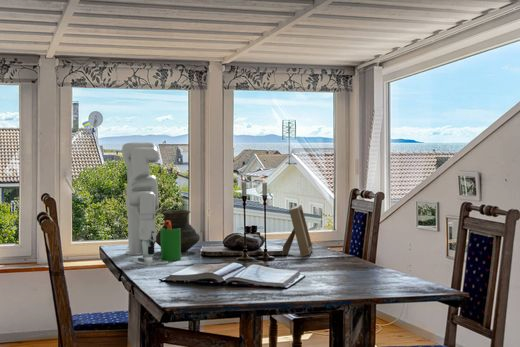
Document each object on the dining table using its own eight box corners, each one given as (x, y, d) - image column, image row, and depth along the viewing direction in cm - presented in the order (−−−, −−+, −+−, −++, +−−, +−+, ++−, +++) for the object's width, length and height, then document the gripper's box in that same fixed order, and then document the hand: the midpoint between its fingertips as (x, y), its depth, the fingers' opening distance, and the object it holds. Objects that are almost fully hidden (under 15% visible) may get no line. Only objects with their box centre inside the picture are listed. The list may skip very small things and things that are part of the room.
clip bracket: (129, 260, 343) (129, 256, 343) (149, 258, 350) (148, 254, 350) (147, 265, 327) (147, 261, 327) (168, 263, 334) (168, 258, 334)
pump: (140, 256, 339) (140, 237, 339) (150, 255, 342) (150, 236, 342) (145, 257, 334) (145, 238, 334) (155, 256, 338) (155, 237, 338)
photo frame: (312, 250, 370) (311, 204, 370) (309, 256, 349) (308, 207, 348) (285, 250, 373) (284, 205, 372) (280, 256, 351) (279, 208, 350)
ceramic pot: (150, 251, 379) (149, 210, 379) (192, 248, 388) (191, 208, 387) (160, 256, 357) (159, 213, 356) (204, 253, 366) (204, 211, 365)
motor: (182, 258, 350) (181, 219, 349) (178, 260, 341) (177, 221, 340) (162, 258, 351) (162, 219, 350) (158, 260, 342) (157, 221, 341)
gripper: (132, 216, 343) (133, 252, 343) (148, 218, 329) (149, 256, 329) (146, 215, 347) (147, 251, 347) (162, 217, 333) (163, 254, 334)
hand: (148, 253), depth 338 cm, fingers closed on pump, 5 cm apart
